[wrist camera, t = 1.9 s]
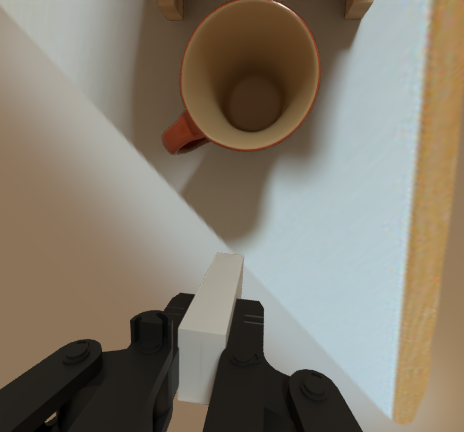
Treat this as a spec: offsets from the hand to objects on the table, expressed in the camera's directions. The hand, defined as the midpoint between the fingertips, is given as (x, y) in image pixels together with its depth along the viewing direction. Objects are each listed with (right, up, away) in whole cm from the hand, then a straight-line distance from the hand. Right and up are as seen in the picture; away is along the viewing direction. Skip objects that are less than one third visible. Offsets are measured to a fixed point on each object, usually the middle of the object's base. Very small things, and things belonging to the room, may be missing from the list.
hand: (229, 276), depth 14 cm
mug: (+1, +13, +12) cm, 18 cm away
